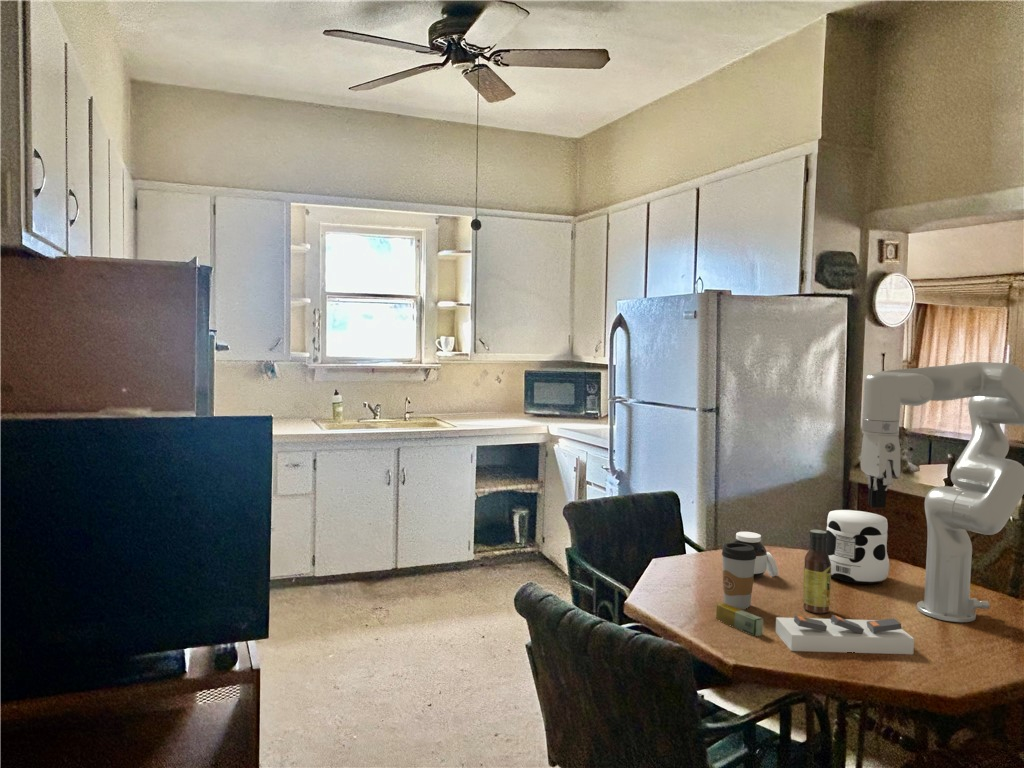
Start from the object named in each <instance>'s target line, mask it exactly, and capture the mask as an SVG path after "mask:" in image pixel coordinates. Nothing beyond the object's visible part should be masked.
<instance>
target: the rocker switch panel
mask: <svg viewBox="0 0 1024 768" xmlns="http://www.w3.org/2000/svg"><path fill="white" fill-rule="evenodd" d="M808 618H809V617H808ZM809 619H814V620H819V621H822V622H823V623H824V624H825V625H826V626H827V629H826V631H821V630H816V629H811V628H806V627H801V626H798V625H797V624H796V623H795V622H794V617H775V634H776V635H777V636H778V637H779V638H780V640H781V641H782V642H783V643H784V644H785V646H786V647H787V648H788V649H789V650H790V651H791V652H817V653H820V652H821V653H847V652H852V654H853V652H855V653H854V654H884V655H885V654H888V655H889V654H890V655H892V654H893V655H914V648H915V647H914V646H915V638H914V637H913V636H912V635H910V634H909V633H908V632H906V631H905V630H904V629H903V628H902V629H898V630H891V631H884V632H876V633H873V632H872V631H871V630H870V629H869V628H868V627H867V622H871V621H878V620H879V619H851V618H850V619H849V618H844V619H845V620H848V621H851V622H854V623H856V624H858V625H860V626H861V627H862V628H863V629H864V631H863V633H862V634H859V633H857V632H854V631H851V630H848V629H846V628H843V627H840V626H838V625H836V624H835V623H833V622H832V621H831V620H830V619H831V618H816V617H814V618H809Z"/></svg>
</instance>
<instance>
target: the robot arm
mask: <svg viewBox="0 0 1024 768" xmlns="http://www.w3.org/2000/svg"><path fill="white" fill-rule="evenodd" d="M864 378H865V379H864V384H863V385H864V386H863V408H862V409H863V410H862V426H861V427H862V428H861V433H862V434H863V435H862V436H863V437H862V443H861V452H860V470H861V472H863V473H864V477H865V478H866V479H867V487H868V498H867V499H868V501H867V503H868V504H867V505H868V506H869V507H870V508H880V509H881V508H882V509H884V508H886V502H887V491H888V486H892V485H893V480H894V479H895V480H898V479H900V477H901V445H900V444H901V443H900V437H899V435H900V434H899V433H900V417H901V414H900V412H901V406H911V407H918V406H923V405H925V404H928V403H929V402H931V401H933V402H934V401H935V402H940V401H941V402H947V401H955V400H961V399H968V398H969V401H968V413H969V419H970V425H971V436H970V439H969V441H968V443H967V445H966V446H965V447H964V449H963V451H962V452H961V454H960V455H959V457H958V459H957V460H956V462H955V464H954V465H953V467H952V468H951V472H950V480H951V482H952V484H953V485H954V486H955V487H954V486H948V485H944V486H943V485H941V486H936V487H933V488H932V489H930V490H929V491H928V492H927V493H926V496H925V498H924V512H925V518H926V526H927V527H926V528H927V543H926V544H927V545H926V561H925V564H926V565H925V579H924V581H925V582H924V600H920V601H918V602H917V603H916V608H917V611H919V612H920V613H921V614H923V615H926V616H927V617H930V618H933V619H938V620H941V621H946V622H951V623H971V622H974V621H975V620H976V618H977V613H976V612H975V611H974V610H977V609H981V610H983V609H984V610H988V609H990V602H989V601H988V600H978V599H977V598H975V597H974V598H973V597H970V593H971V591H970V590H971V576H972V575H971V573H972V559H973V558H972V555H973V544H972V541H971V538H970V536H969V534H968V533H969V532H972V533H977V534H981V535H987V536H988V535H990V536H992V535H995V534H998V533H999V532H1001V530H1002V529H1003V528H1004V527H1005V525H1006V524H1007V523H1008V521H1009V519H1010V517H1011V516H1012V514H1013V513H1014V511H1015V509H1016V508H1017V506H1018V505H1019V502H1020V501H1021V500H1022V498H1023V495H1024V465H1022V463H1020V462H1019V461H1017V460H1013V459H1010V458H1006V456H1007V455H1008V452H1009V450H1010V444H1009V440H1008V438H1007V436H1006V435H1005V433H1004V431H1003V430H1002V427H1001V425H1010V426H1019V427H1024V371H1023V370H1022V368H1020V367H1019V366H1018V365H1015V364H1013V363H1009V362H986V361H972V362H964V363H956V364H955V363H954V364H947V365H933V366H926V367H925V366H924V367H917V368H916V367H915V368H914V367H913V368H901V369H900V368H899V369H898V368H897V369H890V370H889V369H888V370H881V371H877V372H876V373H869V374H867V375H866V376H865V377H864ZM1000 424H1001V425H1000Z"/></svg>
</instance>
